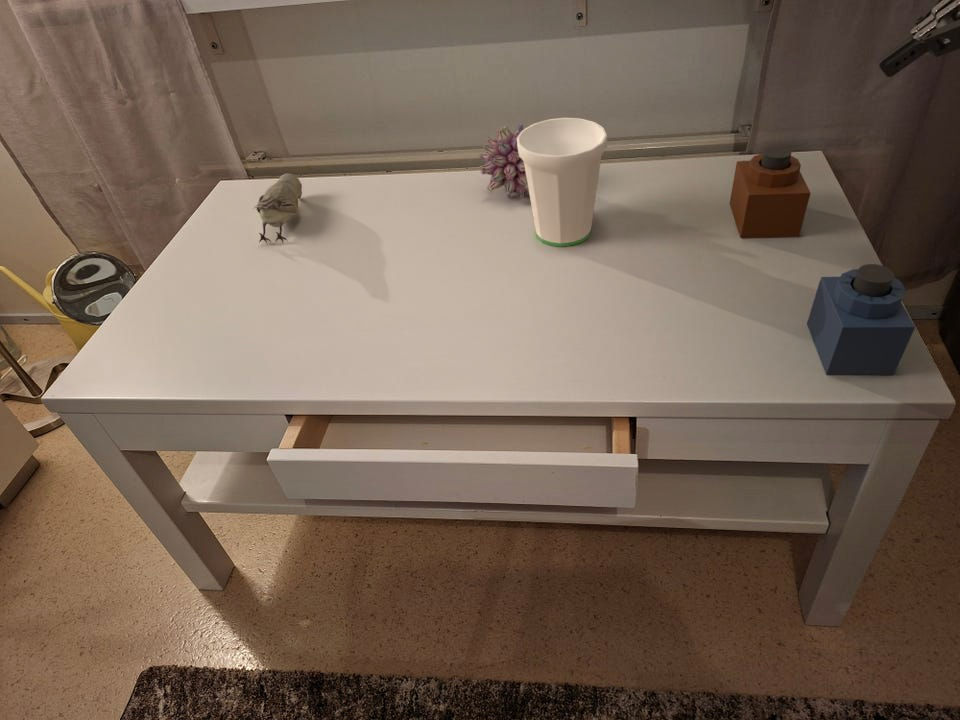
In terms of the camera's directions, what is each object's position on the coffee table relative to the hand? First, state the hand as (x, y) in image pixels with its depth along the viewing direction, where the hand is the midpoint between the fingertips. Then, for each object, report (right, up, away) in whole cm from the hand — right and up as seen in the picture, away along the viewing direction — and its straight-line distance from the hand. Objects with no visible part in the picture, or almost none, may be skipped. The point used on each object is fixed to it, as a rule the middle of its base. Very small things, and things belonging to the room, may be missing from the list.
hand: (882, 69), depth 73 cm
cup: (-32, -13, +28) cm, 44 cm away
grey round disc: (-4, -5, +19) cm, 20 cm away
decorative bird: (-78, -9, +39) cm, 88 cm away
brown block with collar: (-3, -12, +24) cm, 27 cm away
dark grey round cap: (-3, -25, -3) cm, 25 cm away
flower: (-39, -4, +38) cm, 55 cm away
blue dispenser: (-2, -31, +3) cm, 31 cm away
